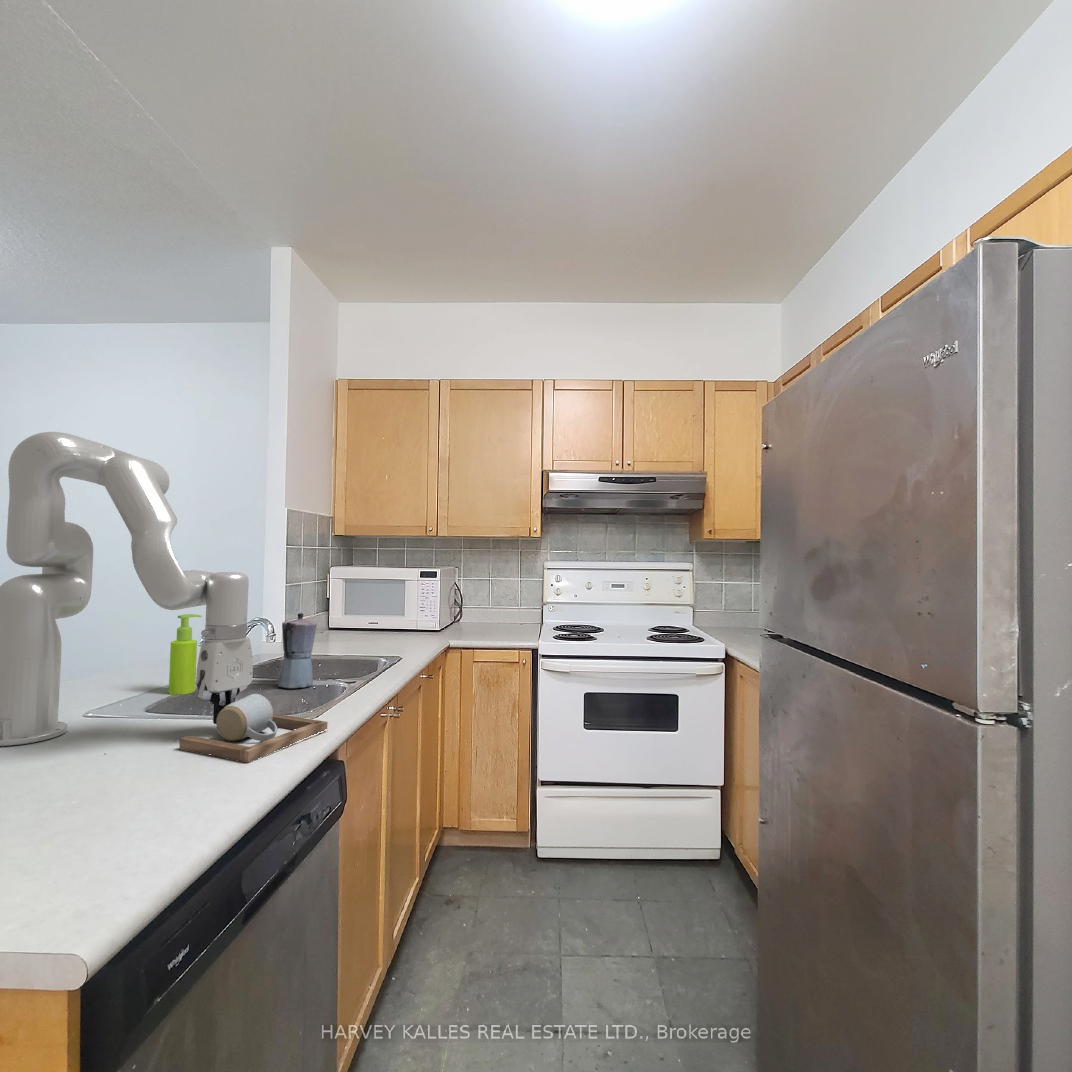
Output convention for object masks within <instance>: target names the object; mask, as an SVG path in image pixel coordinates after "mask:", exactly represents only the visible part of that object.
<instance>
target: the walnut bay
mask: <svg viewBox="0 0 1072 1072" xmlns="http://www.w3.org/2000/svg"><path fill="white" fill-rule="evenodd" d="M272 721H273V722H274V723H275V724H276V726H277V728H281V729H286V728H289V729H288V730H291V731H287V732H285V733H282V734H280V735H277V736H275V737H274V738H271V739H269V740H266V741H260V742H259V743H258V742H257V743H256V744H253V745H250V746H249V745H244V744H243V745H242V744H237V743H231V742H226V741H222V740H217V739H216V740H215V739H211V738H205V737H199V736H194V735H186V736H184V737H180V738H179V750H180V749H181V751H185V750H187V752H190V751H193V752H192V753H195V752H197V754H200V753H203V754H202V755H205V754H211V755H212V756H211V757H215V756H219V757H218V758H220V757H224V758H223V759H225V758H228V759H227V760H230V759H233V760H232V761H235V760H238V761H237V762H240V761H243V762H242V763H245V762H250V763H252V762H254V761H253V760H255V759H257V760H259V759H258V758H260V757H262V758H264V757H263V756H265V757H267V756H268V755H267V754H270V753H272V754H274V753H273V752H274V751H277V750H280V749H282V748H283V747H286V746H289V745H290V744H293V743H295V742H297V741H299V740H302V739H304V738H307V737H309V736H311V735H314V734H317V733H318V732H321V731H324V730H325V729H327V730H328V721H326V720H325V721H324V720H318V719H313V718H312V719H311V718H305V717H299V716H293V715H287V714H280V713H279V714H278V713H274V712H273V719H272ZM292 729H296V730H292ZM282 750H283V749H282ZM280 751H281V750H280ZM277 752H278V751H277ZM266 755H267V756H266ZM270 755H271V754H270ZM260 759H261V758H260ZM251 761H252V762H251ZM255 761H256V760H255Z"/></svg>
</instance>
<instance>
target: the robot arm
mask: <svg viewBox="0 0 1072 1072" xmlns="http://www.w3.org/2000/svg"><path fill="white" fill-rule="evenodd" d="M7 472H8V488H9V489H8V490H9V493H8V497H9V499H8V507H7V508H8V510H7V525H6V526H7V527H6V545H5V546H6V554H7V557H8V558H9V560H10V561H12V562H13V563H14V564H16V565H19V566H21V567H26V568H42V569H41V573H32V574H30V573H29V574H24V575H22V574H21V575H18V576H15V577H12V578H10V579H8V580H6V581H4V582H3V583H2V584H1V585H0V747H7V746H18V745H19V746H20V745H25V744H32V743H36V742H42V741H46V740H50V739H53V738H56V737H59V736H61V735H63V734H65V733H67V731H68V730H69V729H68V728H69V727H68V723H66V722H63V721H59V709H60V708H59V707H60V688H61V686H60V685H61V669H62V668H61V667H62V665H61V664H62V662H61V661H62V636H61V633H60V629H59V626H58V624H57V621H56V620H59V619H66V618H69V617H73V616H76V615H78V614H79V613H81V612H83V610H84V609H85V608H86V607H87V605H88V603H89V602H90V600H91V595H92V587H93V586H92V583H93V567H94V565H93V564H94V544H93V541H92V538H91V536H90V534H89V532H88V531H86V529H85V528H83V526H81V525H79V524H78V523H77V524H76V523H74V522H70V521H66V520H65V519H66V517H65V516H66V515H65V514H66V513H65V512H66V497H65V493H64V489H63V487H62V485H61V481H60V479H61V478H64V477H65V478H70V479H74V480H80V481H85V482H89V483H93V484H96V485H99V486H103V487H104V488H105V489H106V491H107V493H108V496H109V497H110V498H111V500H112V503H113V504H114V506H115V508H116V510H117V511H118V513H119V515H120V517H121V520H122V521H123V523H124V524H125V527H126V529H128V531H129V534H130V537H131V545H130V550H131V558H132V563H133V567H134V570H135V572H136V574H137V576H138V579H139V581H140V583H141V584H142V586H143V587H144V589H145V592H146V593H147V594H148V596H149V598H150V599H151V600H152V601H153V602H154V603H155V604H156V605H157V606H159V607H160V608H162V609H165V610H169V611H178V610H183V609H188V608H195V607H201V606H205V624H204V627H205V628H204V629H203V630H202V631H201V632H200V635H201V636H202V637H203V638H204V640H203V641H202V643H201V645H200V650H199V654H198V659H197V664H196V681H195V687H196V689H197V690H198V693H197V698H198V699H200V700H208V701H209V702H210V704H211V705H213V710H212V711H213V715H212V717H213V719H212V723H213V724H214V725H216V719H217V716H218V714H219V712H220V711H221V710H222V709H223V708H224V707H226V706H227V705H229V704H231V703H233V702H236V701H237V700H236V698H237V696H238V695H239V694H240V693H241V692H243V691H244V690H246V689H247V688H248V685H250V684H251V683H252V682H253V672H254V670H253V669H254V668H253V667H254V665H253V663H254V662H253V651H252V649H253V648H252V644H251V640H250V637H247V629H248V607H249V580H250V579H249V576H248V575H247V574H246V573H244V572H229V571H227V572H226V571H225V572H224V571H223V572H210V571H204V570H194V569H192V570H183V569H182V566H181V565H180V563H179V561H178V559H177V557H176V555H175V554H174V551H173V547H172V544H171V536H172V532H173V531H174V529H175V527H176V526H177V524H178V517H177V516H176V514H175V512H174V510H173V508H172V507H171V504H170V503H169V502H168V500H167V497H166V496H165V494H166V493H167V492H168V490H169V488H170V477H169V474H168V472H167V470H166V469H165V468H164V467H163V466H162V465H161V464H159V463H158V462H155V461H153V460H150V459H147V458H142V457H139V456H137V455H134V454H130V453H128V452H125V451H122V450H120V449H116V448H114V447H111V446H108V445H106V444H103V443H100V442H97V441H94V440H90V439H87V438H84V437H80V436H79V435H78V436H77V435H74V434H70V433H67V432H66V433H65V432H61V431H60V432H59V431H44V432H38V433H35V434H33V435H30V436H29V437H27V438H24V440H22V441H21V442H20V443H19V444H18V445H16V447H15V448H14V449H13V451H12V453H11V455H10V458H9V463H8V471H7Z"/></svg>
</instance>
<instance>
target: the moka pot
mask: <svg viewBox="0 0 1072 1072" xmlns="http://www.w3.org/2000/svg"><path fill="white" fill-rule="evenodd" d="M303 618H304V613H302V612H300V613H297V619H293V620H289V621H284V622H282V624H281V626H282V627H281V628H282V645H283V646H282V648H283V660H282V663H281V668H280V671H279V678H278V682H277V686H278V687H279V688H281V689H282V688H284V689H299V688H300V689H302V688H308V687H311V686H313V685H314V678H313V666H312V665H313V664H312V661H313V660H312V658H311V657H312V652H313V648H314V642H315V637H316V632H317V631H316V630H317V625H318V623H317V622H314V621H311V620H306V619H303Z"/></svg>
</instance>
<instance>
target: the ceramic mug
mask: <svg viewBox="0 0 1072 1072" xmlns="http://www.w3.org/2000/svg"><path fill="white" fill-rule="evenodd" d="M273 713H274V710H273V706H272V703H271V702H270V701H269V699H268V698H267V697H266V696H263V695H262V694H260V693H253V694H249V695H247V696H245V697H242V698H240V699H238V700H235V702H233V703H231V704H229V705H227V706H226V707H224V708H223V709H222V710H221V711H220V712H219V714H218V716H217V719H216V724H215V726H216V728H217V729H216V730H217V731H218V733H219V735H220V737H222V738H224V739H225V740H226V741H230V742H235V741H240V740H243V739H245V738H248V737H249V738H250V739H252V740H254V741H258V742H259V741H260V742H263V741H266V740H269V739H271V738H274V737H276V734H277V732H278V727H277V726H276V724H275V723H274V722H273V721H272V719H273ZM268 728H269V729H270V730H271V731H272V732H271V733H261V732H263V731H265V730H266V729H268Z"/></svg>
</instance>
